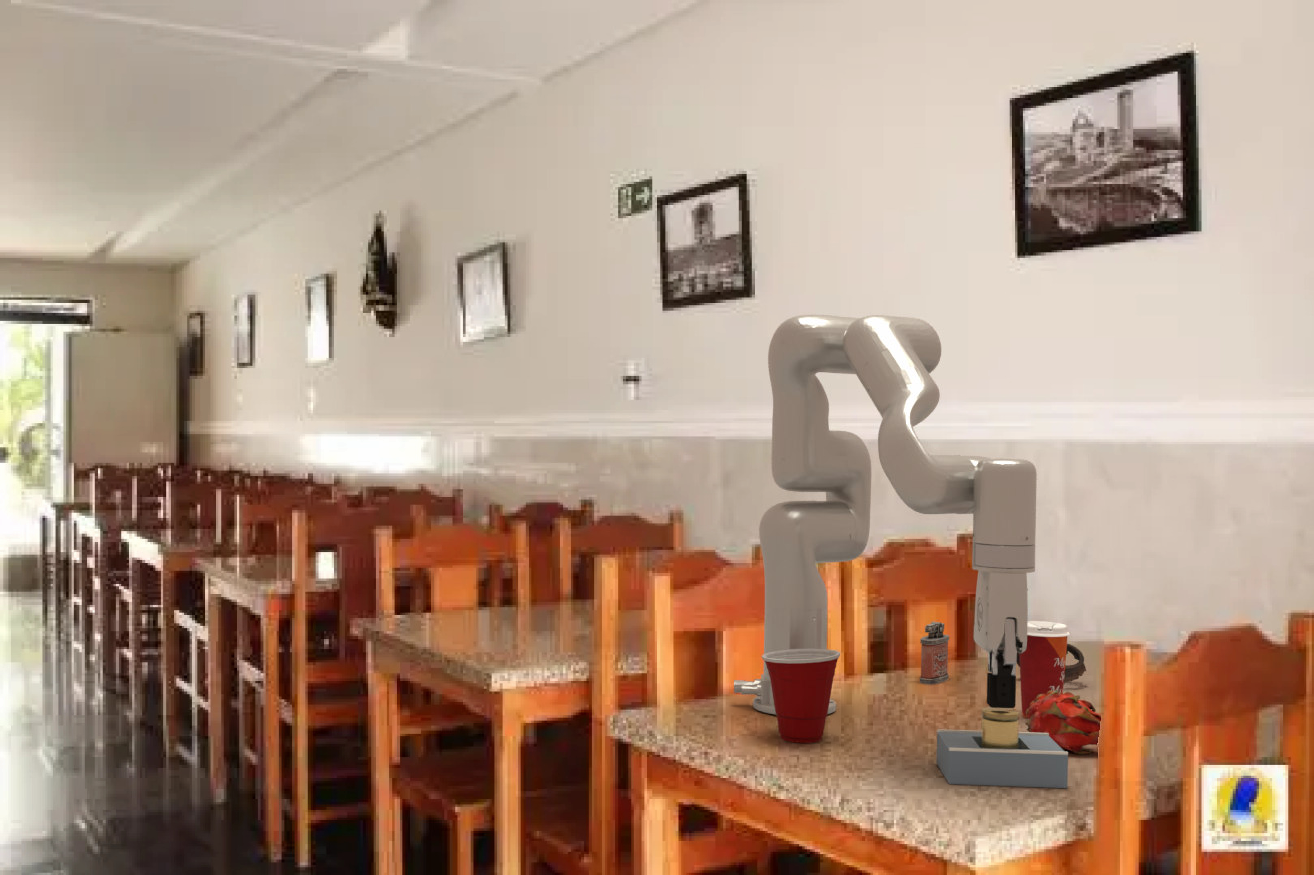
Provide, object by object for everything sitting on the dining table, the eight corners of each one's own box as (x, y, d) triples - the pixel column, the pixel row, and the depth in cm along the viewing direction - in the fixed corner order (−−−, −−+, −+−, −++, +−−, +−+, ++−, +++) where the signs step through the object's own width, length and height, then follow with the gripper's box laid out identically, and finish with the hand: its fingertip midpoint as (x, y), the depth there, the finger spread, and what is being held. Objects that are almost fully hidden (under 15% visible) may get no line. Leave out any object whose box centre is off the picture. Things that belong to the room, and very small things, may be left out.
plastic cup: (775, 726, 183) (777, 642, 183) (848, 734, 179) (850, 648, 179) (748, 742, 174) (750, 653, 174) (825, 751, 169) (826, 660, 169)
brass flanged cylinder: (984, 779, 157) (985, 713, 157) (977, 769, 161) (978, 706, 161) (1021, 780, 156) (1022, 715, 156) (1013, 770, 161) (1014, 707, 161)
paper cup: (1071, 724, 188) (1072, 628, 188) (1016, 721, 190) (1018, 626, 190) (1065, 713, 196) (1066, 621, 196) (1013, 710, 197) (1014, 619, 197)
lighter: (934, 676, 225) (935, 619, 225) (952, 678, 223) (953, 620, 223) (915, 682, 218) (916, 623, 218) (933, 685, 216) (934, 626, 216)
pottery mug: (1082, 683, 223) (1093, 646, 219) (1072, 716, 216) (1083, 678, 212) (1014, 660, 228) (1023, 623, 223) (1001, 691, 220) (1011, 654, 216)
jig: (948, 783, 154) (949, 748, 154) (936, 762, 164) (937, 729, 164) (1067, 788, 153) (1068, 752, 153) (1047, 766, 163) (1048, 733, 163)
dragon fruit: (1020, 751, 178) (1106, 779, 170) (1006, 724, 172) (1094, 752, 164) (1042, 698, 181) (1127, 723, 173) (1029, 670, 175) (1116, 695, 168)
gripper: (962, 552, 166) (960, 693, 166) (984, 563, 151) (981, 718, 151) (1021, 553, 166) (1018, 695, 166) (1048, 565, 151) (1045, 720, 151)
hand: (1001, 706), depth 159 cm, fingers closed
